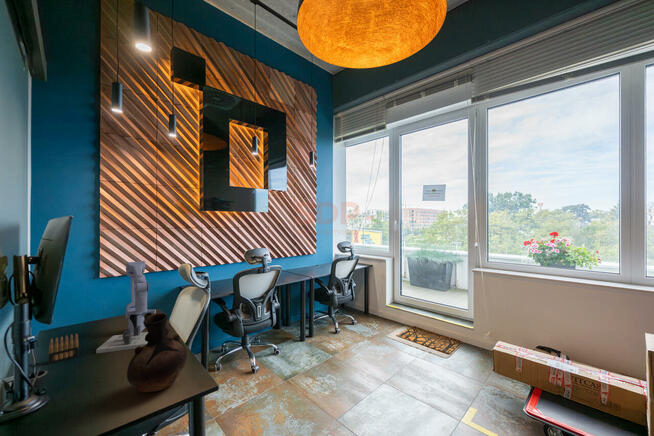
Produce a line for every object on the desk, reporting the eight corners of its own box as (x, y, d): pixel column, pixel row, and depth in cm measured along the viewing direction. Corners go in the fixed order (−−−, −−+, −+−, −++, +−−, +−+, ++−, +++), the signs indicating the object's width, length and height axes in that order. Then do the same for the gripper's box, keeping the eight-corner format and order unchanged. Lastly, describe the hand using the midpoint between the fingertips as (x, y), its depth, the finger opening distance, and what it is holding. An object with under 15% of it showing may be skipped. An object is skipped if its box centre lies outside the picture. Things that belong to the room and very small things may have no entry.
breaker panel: (113, 339, 153) (113, 335, 153) (155, 334, 160) (155, 330, 160) (96, 353, 136) (96, 349, 136) (144, 347, 142) (144, 343, 143)
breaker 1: (126, 342, 144) (126, 334, 144) (131, 341, 145) (131, 333, 145) (124, 344, 141) (124, 336, 141) (129, 343, 142) (129, 335, 142)
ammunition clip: (48, 364, 125) (48, 339, 126) (48, 363, 127) (48, 338, 127) (78, 356, 133) (79, 333, 133) (78, 355, 134) (78, 332, 134)
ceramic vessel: (181, 369, 121) (182, 304, 122) (191, 386, 108) (192, 314, 108) (124, 388, 107) (126, 315, 108) (128, 411, 94) (129, 327, 95)
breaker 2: (135, 333, 155) (135, 326, 155) (140, 333, 156) (140, 325, 156) (133, 335, 152) (133, 328, 153) (138, 335, 153) (138, 327, 153)
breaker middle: (125, 338, 149) (125, 330, 149) (130, 337, 149) (130, 330, 150) (122, 340, 146) (122, 332, 146) (127, 340, 147) (127, 332, 147)
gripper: (123, 306, 144) (122, 331, 144) (153, 304, 148) (152, 328, 148) (128, 303, 151) (128, 326, 151) (157, 300, 155) (157, 323, 155)
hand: (140, 327), depth 150 cm, fingers open, 5 cm apart
